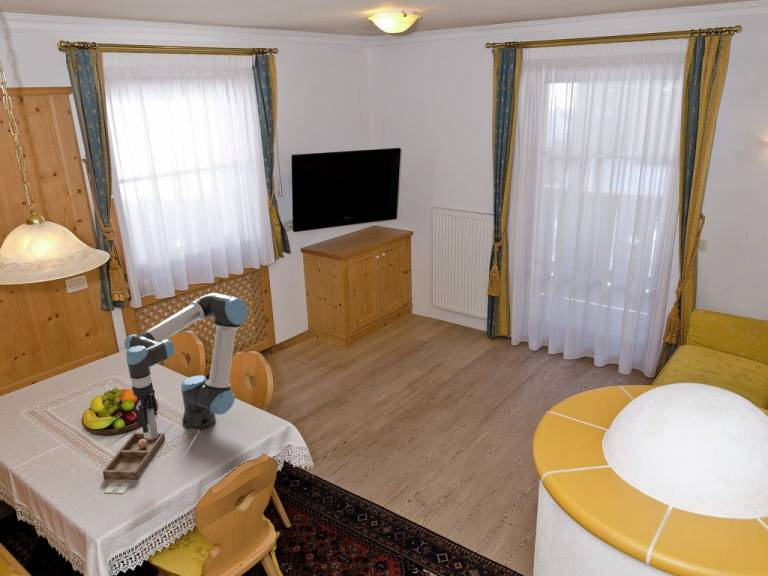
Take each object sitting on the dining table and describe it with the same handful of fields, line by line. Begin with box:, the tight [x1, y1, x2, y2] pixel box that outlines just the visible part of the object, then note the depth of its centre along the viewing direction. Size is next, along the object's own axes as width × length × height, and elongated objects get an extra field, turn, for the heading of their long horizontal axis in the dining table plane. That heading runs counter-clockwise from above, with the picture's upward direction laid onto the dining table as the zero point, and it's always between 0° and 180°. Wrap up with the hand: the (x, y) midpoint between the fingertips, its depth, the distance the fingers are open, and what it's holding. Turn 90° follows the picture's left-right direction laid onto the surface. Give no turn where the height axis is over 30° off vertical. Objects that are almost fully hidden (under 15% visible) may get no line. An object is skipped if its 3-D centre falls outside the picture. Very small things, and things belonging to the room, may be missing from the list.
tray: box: [102, 431, 166, 482], centre depth 252 cm, size 14×28×4 cm, turn 177°
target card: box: [103, 481, 131, 495], centre depth 234 cm, size 8×6×1 cm
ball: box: [138, 439, 147, 448], centre depth 258 cm, size 4×4×4 cm
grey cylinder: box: [145, 408, 159, 440], centre depth 238 cm, size 5×5×12 cm
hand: (150, 433), depth 239 cm, fingers closed on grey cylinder, 5 cm apart
